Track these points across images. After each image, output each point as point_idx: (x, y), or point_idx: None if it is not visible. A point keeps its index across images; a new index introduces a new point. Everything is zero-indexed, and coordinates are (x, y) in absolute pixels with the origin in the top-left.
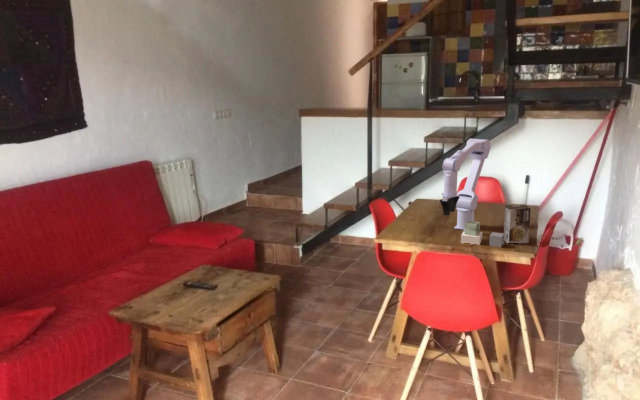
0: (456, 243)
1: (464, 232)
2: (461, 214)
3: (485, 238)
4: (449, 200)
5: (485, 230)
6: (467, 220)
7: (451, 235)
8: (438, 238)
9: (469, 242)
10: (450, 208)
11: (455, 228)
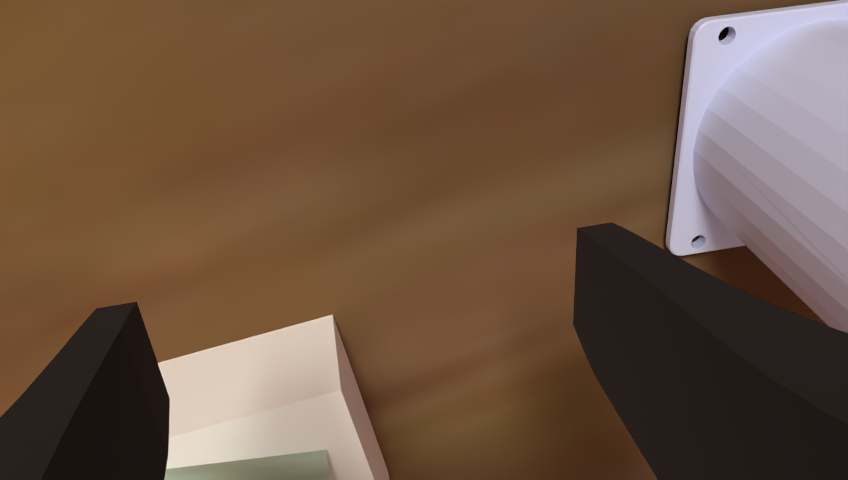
0: (38, 351)
1: (232, 438)
2: (840, 244)
3: (453, 474)
4: (781, 443)
5: None
6: (777, 274)
7: (330, 144)
8: (35, 49)
9: None
10: (614, 296)
11: (687, 47)
